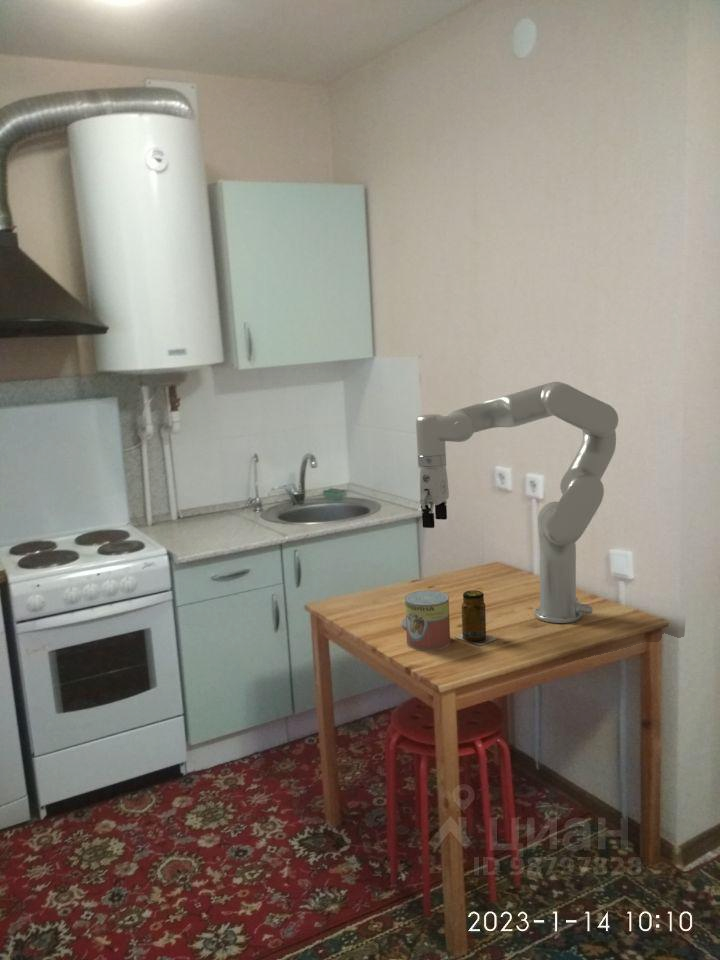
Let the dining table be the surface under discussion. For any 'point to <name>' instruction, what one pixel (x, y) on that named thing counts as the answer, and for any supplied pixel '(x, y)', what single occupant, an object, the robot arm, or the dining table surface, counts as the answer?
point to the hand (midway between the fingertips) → (435, 523)
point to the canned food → (427, 620)
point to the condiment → (474, 619)
